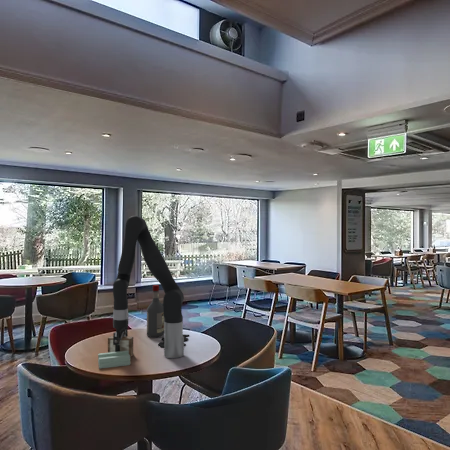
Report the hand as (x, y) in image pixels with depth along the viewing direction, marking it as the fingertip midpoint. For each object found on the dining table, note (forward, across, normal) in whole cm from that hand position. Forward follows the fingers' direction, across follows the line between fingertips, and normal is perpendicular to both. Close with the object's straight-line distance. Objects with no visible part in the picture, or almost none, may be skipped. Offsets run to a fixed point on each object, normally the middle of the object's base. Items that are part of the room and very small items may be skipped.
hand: (120, 349), depth 193 cm
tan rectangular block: (+3, 0, 0) cm, 3 cm away
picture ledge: (+3, -12, -1) cm, 12 cm away
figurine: (+3, +24, -22) cm, 32 cm away
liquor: (+3, +36, -9) cm, 37 cm away
